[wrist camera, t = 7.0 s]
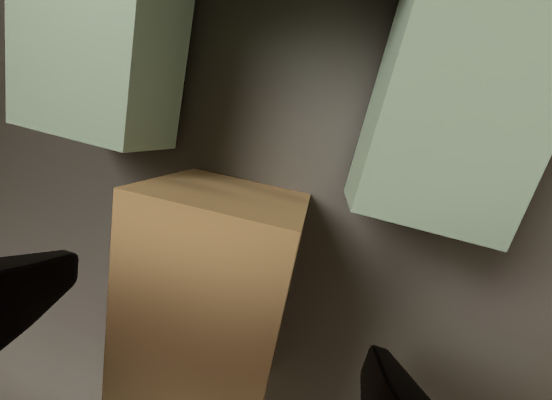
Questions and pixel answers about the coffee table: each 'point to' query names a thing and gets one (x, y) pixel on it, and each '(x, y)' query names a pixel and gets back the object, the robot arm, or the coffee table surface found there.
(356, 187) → the slot block
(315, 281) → the coffee table surface
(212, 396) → the block
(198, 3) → the coffee table surface
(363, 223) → the coffee table surface
